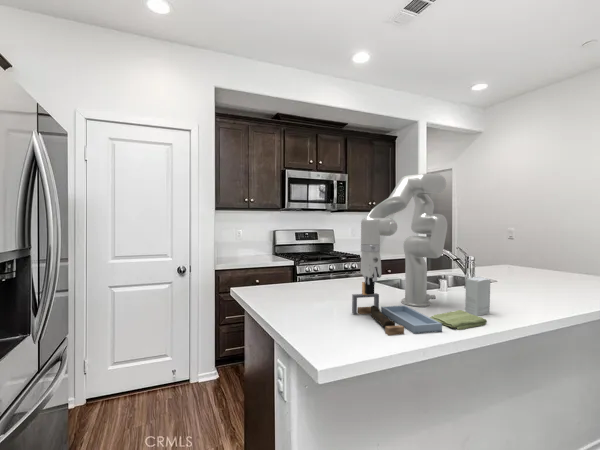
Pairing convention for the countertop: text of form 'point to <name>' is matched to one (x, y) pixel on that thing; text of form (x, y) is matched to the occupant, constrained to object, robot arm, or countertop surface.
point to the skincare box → (477, 296)
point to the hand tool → (381, 317)
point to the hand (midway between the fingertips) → (369, 293)
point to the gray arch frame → (355, 296)
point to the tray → (411, 319)
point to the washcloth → (459, 319)
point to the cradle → (388, 329)
